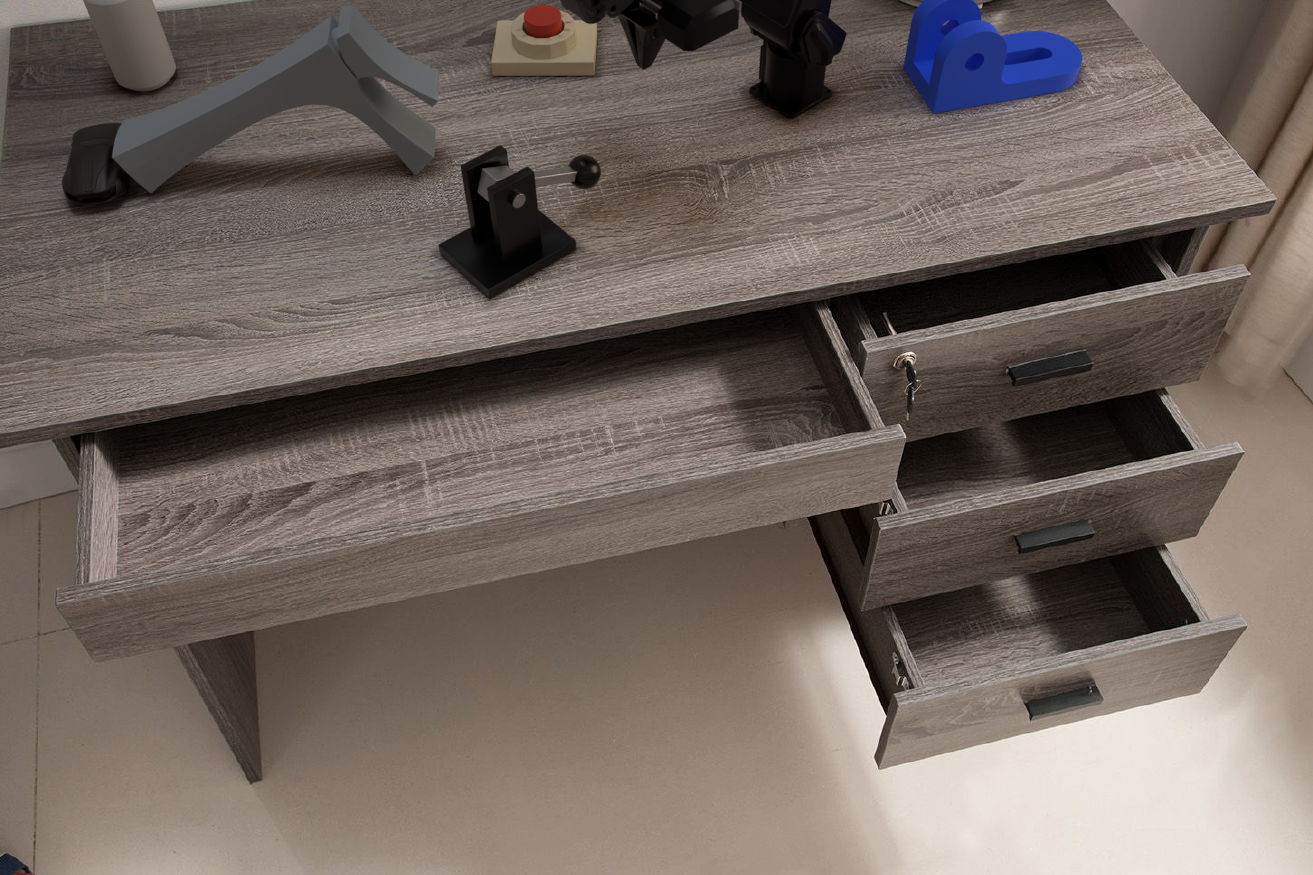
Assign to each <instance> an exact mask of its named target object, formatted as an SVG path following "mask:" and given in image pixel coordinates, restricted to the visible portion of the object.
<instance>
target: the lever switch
mask: <svg viewBox="0 0 1313 875" xmlns="http://www.w3.org/2000/svg"><path fill="white" fill-rule="evenodd" d="M505 165H507V166H508V167H510V163H509V155H508V150H507V149H506V148H505V147H504V146H502V145H501V144H499V145H498V146H496V147H493V148H491V149H490V150H487V151H486V152H483V153H482V154H480V155H478V156H476V157H473V158H471V159H470V160H468V161H466V162H464V163H462V164H461V165H460V172H461V177H462V178H461V179H462V184H463V191H464V197H465V203H466V209H467V215H468V222H469V227H467V229H464V230H463V231H461V232H458V233H457V234H455V235H452V236H451V237H450V238H448V239H446V240H444V241H442V242H440V243H439V244H438V251H439V254H440V255H441V256H442V257H443V258H444V259H445V260H446V261H447V262H448V263H449V264H450V265H451V266H453V267H454V268H455V269H456V270H457V271H458V272H460V273H461V274H462V276H464V277H465V279H467V280H468V281H469V282H470V283H471V284H473V285H474V286H475V287H476V288H477V289H478V290H479V291H480V292H481V293H483V294H484V295H485V296H486V297H487V298H488V299H489V300H491V299H493V298H495V297H497V296H498V295H500V294H502V293H504V292H505V291H507V290H508V289H511V288H512V287H514V286H515V285H517V284H519V283H522V282H523V281H525V280H527V278H530V277H532V276H534V275H535V274H537V273H538V272H540V271H542V270H544V269H546V268H548V267H549V266H551V265H554V263H556V262H558V261H560V260H562V259H563V258H565V257H566V256H568V255H570V254H572V253H574V252H576V251H577V240H576V239H575V238H573V237H572V236H571V235H570V234H569V233H567V231H565V230H564V229H562V228H561V226H559V225H558V224H556V223H555V222H554V221H553V220H552V219H551V218H549V217H548V216H547V215H546V214H544V213H543V212H542V211H541V210H539V203H538V195H537V187H536V184H535V175H534V170H533V169H532V168H530V167H529V166H525V167H524V168H521V169H520V170H518V171H515V172H516V173H514V174H512V175H510V176H508V177H506V178H504V179H503V180H501V181H499V182H497V183H495V184H493V185H491V186H489V187H487V192H488V199H489V202H488V201H487V200H486V199H485V198H484V197H482V196H481V195H480V194H479V193H478V187H479V182H480V177H481V172H482V169H483V168H490V167H498V166H505Z"/></svg>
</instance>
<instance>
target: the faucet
mask: <svg viewBox="0 0 1313 875" xmlns="http://www.w3.org/2000/svg"><path fill="white" fill-rule="evenodd" d="M440 74H441V73H440V70H437V69H436V68H433V67H432V66H429V65H428V64H425V63H423V62H421V61H420V60H417V59H415V58H414V57H412V56H410V55H409V54H407V53H405V52H404V51H402V50H400V49H398V48H397V47H396V46H394V45H393V44H392V43H390V42H389V41H387V40H386V39H385V38H384V37H383V36H382V35H380V33H378V32H377V31H376V30H375V28H374V27H373V26H372V25H371V24H370V23H369V22H368V21H367V19H365V17H364V16H363V15H362V14H361V12H360V11H359V9H357V7H356V6H355V5H354V4H353V3H350V4H348V5H346V6H345V7H343V8H341V9H340V10H339V17H338V20H337V19H336V18H335V17H334V15H333V14H330V15H329V16H328V17H327V18H325V19H324V20H323V21H321V22H320V23H319V24H318V25H316V26H315V27H313V28H312V29H311V30H309V31H307V33H305V34H304V35H302V36H301V37H300V38H298V39H296V40H295V41H294V42H292V43H291V44H289V45H288V46H286V47H284V48H283V49H281V50H279V51H278V52H276V53H274V54H273V55H271V56H269V57H268V58H266V59H264V60H263V61H261V62H259V63H258V64H255V65H254V66H252V67H251V68H249V69H246V70H245V71H243V72H241V73H240V74H238V75H235V76H233V77H231V78H229V79H228V80H226V81H224V82H221V83H219V84H217V85H215V86H213V87H211V88H208V89H207V90H204V91H202V92H199V93H197V94H195V95H193V96H190V97H188V98H185V99H183V100H180V101H177V102H176V103H173V104H171V105H168V106H166V107H163V108H161V109H158V110H155V111H152V112H149V113H145V114H141V115H139V116H135V117H131V118H126V119H123V121H122V122H121V123H122V124H121V126H120V128H119V130H118V132H117V135H116V138H115V142H114V147H113V154H112V158H113V159H114V160H115V161H116V162H117V163H118V164H119V165H120V166H121V167H122V168H123V169H124V170H125V171H126V172H127V175H128V176H130V177H131V178H132V179H133V180H134V181H135V182H136V183H137V184H138V185H140V186H141V187H142V188H143V189H145V191H147V192H148V193H150V194H153V193H154V192H155V191H156V190H157V189H158V188H159V187H161V186H162V184H164V183H166V181H168V180H169V179H170V178H171V177H172V176H174V175H175V174H176V173H178V172H179V171H181V170H182V169H183V168H185V167H186V166H188V165H189V164H191V163H192V162H193V161H195V160H196V159H198V158H200V157H201V156H203V155H204V154H206V153H207V152H209V151H210V150H211V149H213V148H215V147H217V146H218V145H220V144H221V143H223V142H225V141H227V140H228V139H230V138H232V137H233V136H235V135H236V134H238V133H240V132H242V131H244V130H246V129H247V128H249V127H250V126H253V125H255V124H257V123H258V122H261V121H262V120H265V119H267V118H269V117H272V116H274V115H276V114H279V113H281V112H282V113H283V112H285V111H288V110H292V109H295V108H300V107H305V106H326V107H327V106H328V107H332V108H336V109H339V110H342V111H344V112H345V113H348V114H350V115H352V116H354V117H355V118H357V119H358V120H359V121H361V122H362V123H363V124H365V125H366V126H367V127H368V128H370V129H371V130H372V131H373V132H374V133H375V134H376V135H378V136H379V138H381V139H382V140H383V141H384V143H385V144H386V145H388V147H389V148H390V149H391V150H392V151H393V152H394V153H395V155H396V156H397V157H398V158H399V159H400V160H401V161H402V162H403V164H404V165H406V167H407V168H408V169H409V170H410V171H411V173H412V175H414V176H417V175H418V174H419V173H420V172H421V171H422V170H423V169H424V168H425V167H426V166H427V165H428V164H429V163H430V162H431V161H432V160H433V159H434V158H435V150H436V149H435V148H436V129H437V128H436V127H435V126H434V125H433V124H431V123H430V122H428V121H427V120H426V119H424V118H423V117H421V116H420V115H419V114H417V113H416V112H415V111H413V110H412V109H410V108H409V107H407V105H405V104H404V103H403V102H401V101H400V100H399V99H398V98H396V96H394V95H393V94H392V93H391V92H390V91H389V90H387V88H386V87H384V85H382V84H381V83H380V81H378V80H377V79H381V80H384V81H386V82H388V83H390V84H392V85H395V86H396V87H399V88H400V89H403V90H405V91H406V92H408V93H410V94H412V95H413V96H415V97H416V98H418V99H420V100H421V101H422V102H424V103H425V104H427V105H428V106H430V107H431V108H434V106H436V104H437V103H438V102H439V95H440V94H439V93H440ZM376 78H377V79H376Z"/></svg>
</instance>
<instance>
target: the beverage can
mask: <svg viewBox="0 0 1313 875" xmlns="http://www.w3.org/2000/svg"><path fill="white" fill-rule="evenodd" d="M82 1H83V4H84V6H85V9H86V10H87V13H88V16H89V18H90V21H91V23H92V26H93V28H94V31H95V33H96V36H97V39H98V40H99V43H100V46H101V48H102V51H103V53H104V55H105V57H106V60H107V62H108V65H109V67H110V70H111V72H112V75H113V77H114V79H115V81H116V82H117V84H118V85H120V86H121V87H123V88H126V89H128V90H132V91H135V92H150V91H155V90H157V89H160V88H162V87H163V86H165V85H166V84H168V82H169V81H170V80H171V78H172V77H173V76H174V75H175V72H176V70H177V65H176V60H175V59H174V56H173V53H172V51H171V47H170V45H169V42H168V40H167V37H166V36H167V35H166V34H165V31H164V29H163V25H162V23H161V21H160V18H159V14H158V12H157V9H156V7H155V4H154V1H153V0H82Z"/></svg>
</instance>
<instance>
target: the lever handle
mask: <svg viewBox="0 0 1313 875" xmlns="http://www.w3.org/2000/svg"><path fill="white" fill-rule="evenodd" d="M533 171H534V170H533ZM516 172H517V171H515V170H514V169H512V168H511V167H510V166H509V167H508V166H507V165H505V166H498V167H490V168H483V169H482V172H481V177H480V182H479V187H478V193H479V194H480V195H481V196H482V197H484V198H485V199H486V200H487V201H488V202H489V199H488V192H487V187H489V186H491V185H493V184H495V183H497V182H499V181H501V180H503V179H504V178H506V177H508V176H510V175H512V174H514V173H516ZM534 175H535V184H536V188H540V187H547V186H553V185H559V184H565V183H570V184H571V185H572V186H573V187H574V188H576V189H579V190H589V189H592V188H594V187H595V186H596V185H597V184H598V183H599V181H600V179H601V176H602V168H601V165H600V163H599V161H598V160H597V159H596V158H595V157H593V156H592V155H589V154H579V155H576V156H575V157H573V158H572V159H571V160H570V161H569V162H568V165H567V166H564V167H563V166H562V167H556V168H549V169H543V170H535V171H534Z"/></svg>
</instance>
